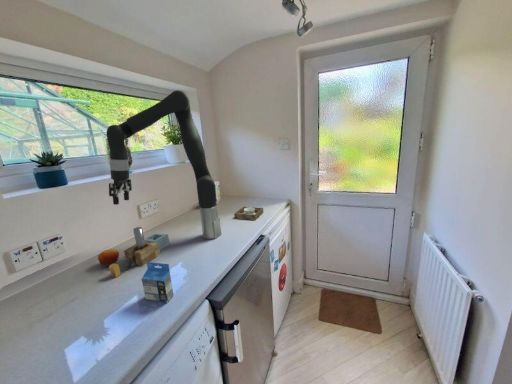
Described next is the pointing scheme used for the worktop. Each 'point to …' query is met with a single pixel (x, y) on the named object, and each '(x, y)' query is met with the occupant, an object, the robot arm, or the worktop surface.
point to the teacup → (249, 210)
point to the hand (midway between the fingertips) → (121, 202)
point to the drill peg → (139, 238)
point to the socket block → (142, 253)
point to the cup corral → (239, 214)
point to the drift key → (120, 267)
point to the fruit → (108, 257)
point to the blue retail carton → (157, 282)
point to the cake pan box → (217, 191)
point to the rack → (158, 239)
